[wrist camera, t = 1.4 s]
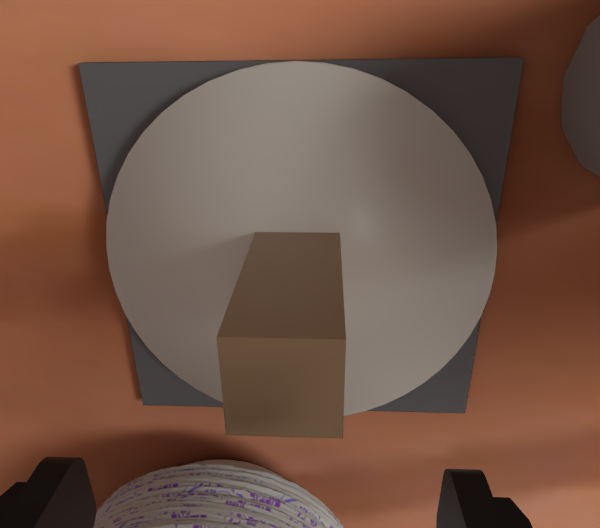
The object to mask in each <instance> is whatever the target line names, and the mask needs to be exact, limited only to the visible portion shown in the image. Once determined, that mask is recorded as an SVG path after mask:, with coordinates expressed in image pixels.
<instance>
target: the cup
mask: <svg viewBox="0 0 600 528" xmlns="http://www.w3.org/2000/svg"><path fill="white" fill-rule="evenodd" d="M561 129H562V131H563V133H564V135H565V137H566V139H567V141H568V143H569V144H570V146H571V148H572V150H573V152H574V154H575V156H576V158H577V160H578V162H579V164H580V165H581V166H582V167H584V168H586V169H587V170H589V171H591V172H592V173H594V174H595V175H597V176H599V177H600V14H599V15H598V16H597V17H596V18H595V19H594V20H593V21H592V22H591V23H590V24H589V25H588V26H587V28H586V30H585V32H584V34H583V36H582V39H581V41H580V43H579V45H578V47H577V49H576V51H575V53H574V55H573V57H572V60H571V62H570V64H569V66H568V68H567V70H566V72H565V74H564V76H563V80H562V108H561Z"/></svg>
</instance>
